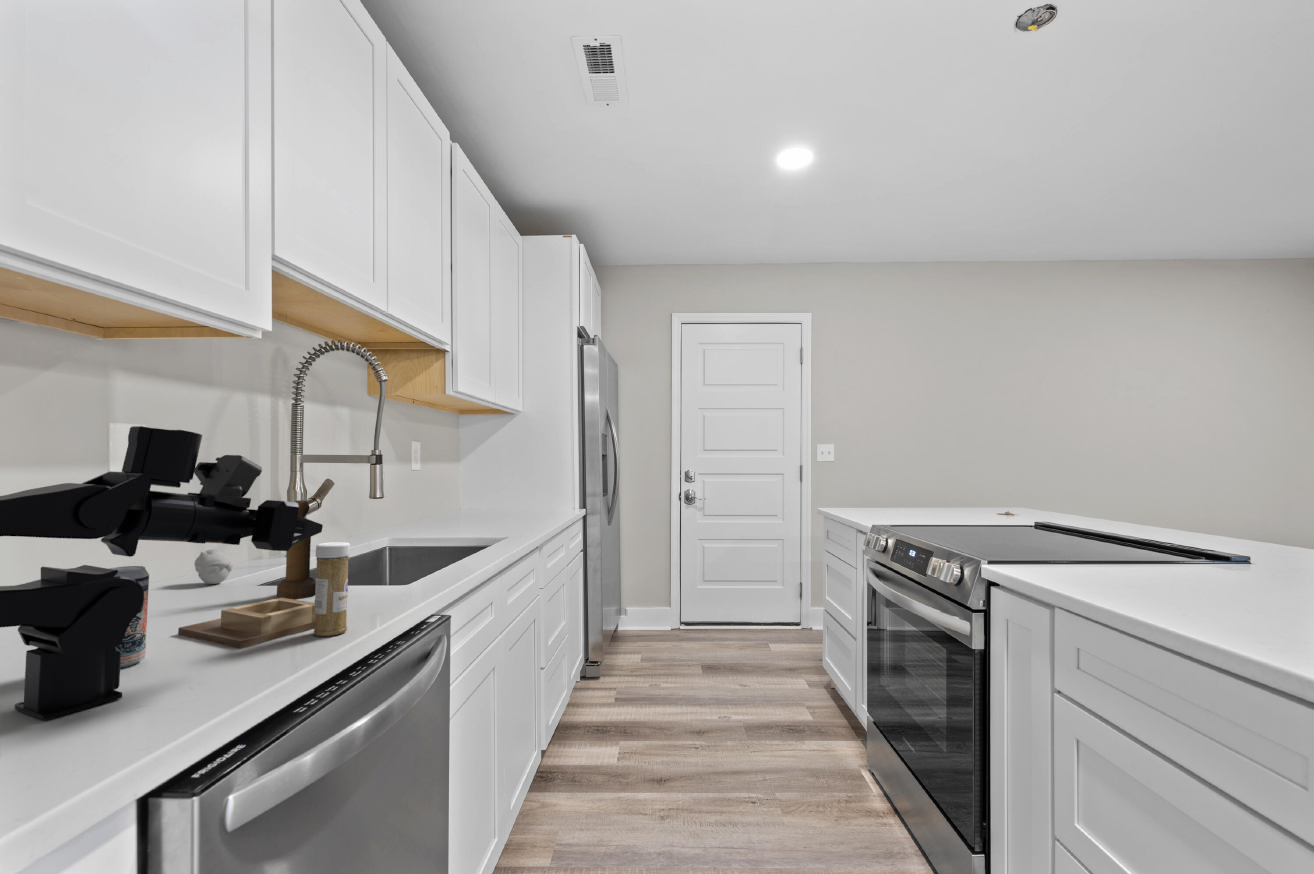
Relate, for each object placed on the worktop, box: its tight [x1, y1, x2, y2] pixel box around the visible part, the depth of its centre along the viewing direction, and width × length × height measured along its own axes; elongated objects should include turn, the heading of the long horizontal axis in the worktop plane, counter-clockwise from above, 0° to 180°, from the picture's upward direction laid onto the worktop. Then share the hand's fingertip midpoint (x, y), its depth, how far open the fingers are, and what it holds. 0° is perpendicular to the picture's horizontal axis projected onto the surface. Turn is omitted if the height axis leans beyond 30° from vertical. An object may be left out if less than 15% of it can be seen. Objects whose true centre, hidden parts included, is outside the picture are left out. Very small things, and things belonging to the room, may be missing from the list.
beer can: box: [108, 565, 150, 669], centre depth 76 cm, size 5×5×12 cm
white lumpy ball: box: [194, 548, 233, 585], centre depth 124 cm, size 6×7×7 cm
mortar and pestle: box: [276, 499, 316, 600], centre depth 115 cm, size 7×6×18 cm
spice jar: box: [313, 541, 351, 637], centre depth 91 cm, size 5×5×14 cm
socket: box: [177, 597, 315, 649], centre depth 93 cm, size 15×14×4 cm
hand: (299, 526), depth 87 cm, fingers open, 9 cm apart
